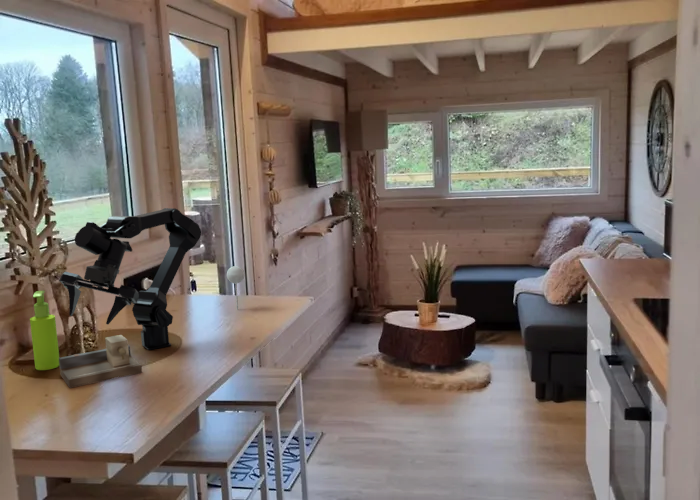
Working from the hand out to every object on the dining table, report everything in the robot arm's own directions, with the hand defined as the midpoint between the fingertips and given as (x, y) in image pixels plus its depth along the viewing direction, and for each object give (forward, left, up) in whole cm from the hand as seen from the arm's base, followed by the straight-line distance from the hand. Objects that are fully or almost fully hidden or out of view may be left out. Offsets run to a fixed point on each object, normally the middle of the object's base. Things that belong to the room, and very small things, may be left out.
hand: (88, 319), depth 166 cm
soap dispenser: (+9, -11, -13) cm, 20 cm away
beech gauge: (-6, +4, -11) cm, 13 cm away
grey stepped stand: (-1, +4, -13) cm, 14 cm away
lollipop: (-55, -34, -13) cm, 66 cm away
